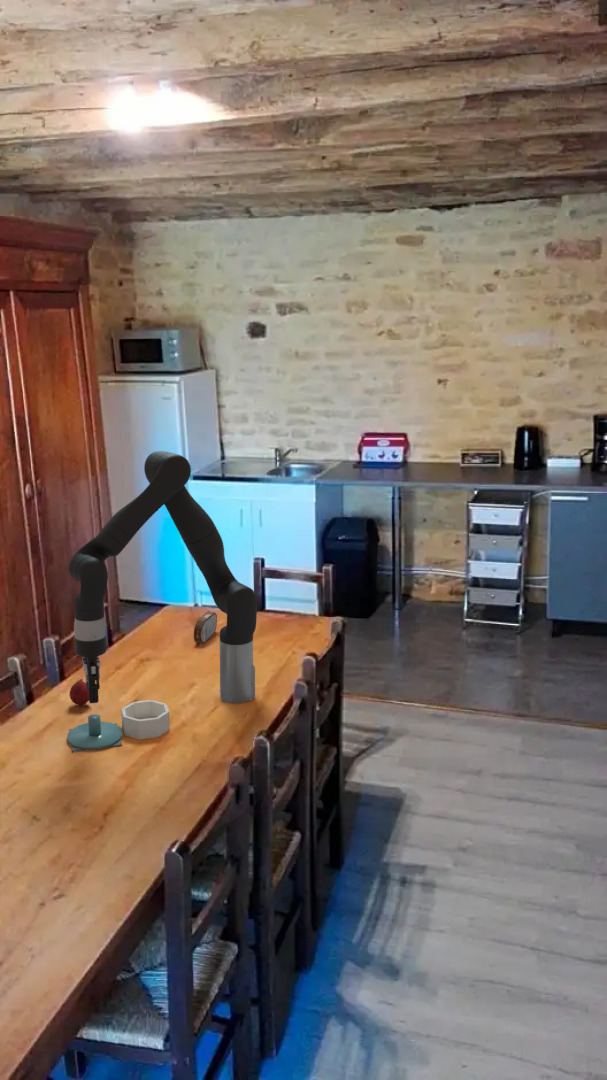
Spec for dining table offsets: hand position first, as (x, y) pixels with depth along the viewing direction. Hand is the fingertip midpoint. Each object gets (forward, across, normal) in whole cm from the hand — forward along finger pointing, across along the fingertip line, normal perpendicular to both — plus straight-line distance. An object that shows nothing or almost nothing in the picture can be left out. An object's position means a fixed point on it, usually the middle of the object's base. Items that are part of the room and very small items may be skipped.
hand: (92, 695), depth 220 cm
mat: (+12, 0, 0) cm, 12 cm away
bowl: (+12, +2, -13) cm, 18 cm away
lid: (+11, 0, 0) cm, 11 cm away
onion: (+12, +20, +2) cm, 23 cm away
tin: (+11, +61, -41) cm, 75 cm away
